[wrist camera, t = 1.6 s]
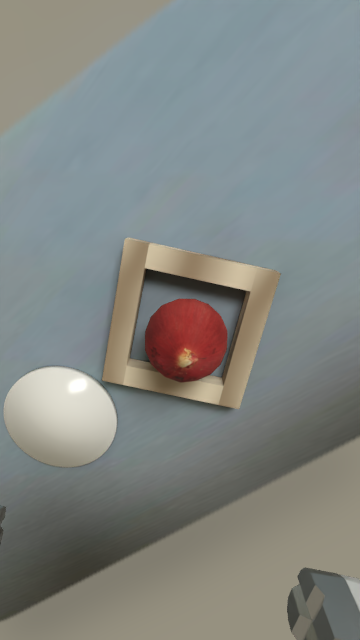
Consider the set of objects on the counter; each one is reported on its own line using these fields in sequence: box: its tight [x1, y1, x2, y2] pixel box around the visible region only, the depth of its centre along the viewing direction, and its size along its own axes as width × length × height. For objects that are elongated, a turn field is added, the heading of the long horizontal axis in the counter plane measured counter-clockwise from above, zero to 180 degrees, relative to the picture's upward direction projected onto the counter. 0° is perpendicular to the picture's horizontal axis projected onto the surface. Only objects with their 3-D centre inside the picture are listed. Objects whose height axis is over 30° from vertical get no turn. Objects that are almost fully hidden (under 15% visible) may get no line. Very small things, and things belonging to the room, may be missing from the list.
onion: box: [145, 299, 227, 383], centre depth 23 cm, size 6×6×8 cm
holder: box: [102, 238, 281, 409], centre depth 26 cm, size 12×12×2 cm
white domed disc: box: [4, 366, 118, 467], centre depth 29 cm, size 10×10×1 cm
